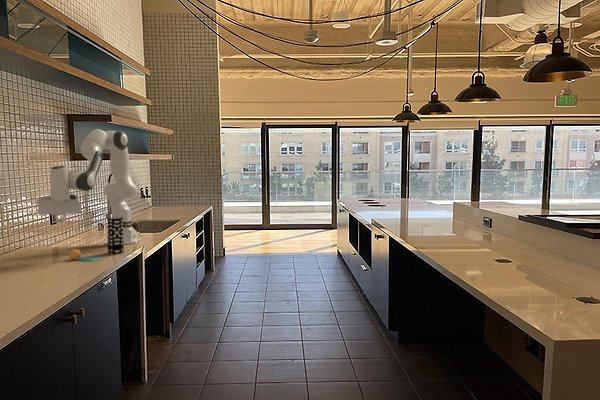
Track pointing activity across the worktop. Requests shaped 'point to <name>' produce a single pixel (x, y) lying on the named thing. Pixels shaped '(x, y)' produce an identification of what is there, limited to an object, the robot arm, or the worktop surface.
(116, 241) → the spotted tube
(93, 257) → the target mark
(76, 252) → the ball
